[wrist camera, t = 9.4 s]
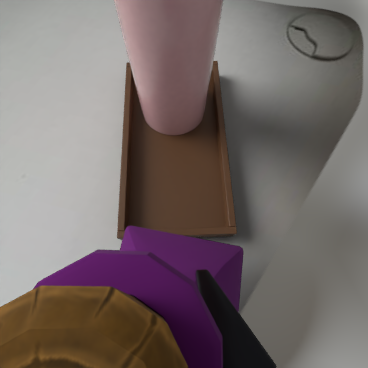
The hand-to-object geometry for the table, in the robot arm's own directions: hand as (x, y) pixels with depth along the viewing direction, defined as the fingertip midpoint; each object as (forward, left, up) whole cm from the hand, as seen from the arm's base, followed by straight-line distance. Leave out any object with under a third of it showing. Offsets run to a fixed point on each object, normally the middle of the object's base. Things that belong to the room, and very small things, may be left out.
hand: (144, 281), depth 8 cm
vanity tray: (+8, -10, -13) cm, 18 cm away
